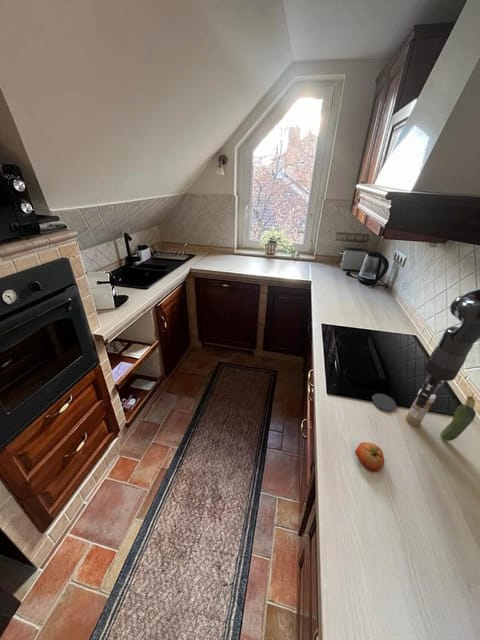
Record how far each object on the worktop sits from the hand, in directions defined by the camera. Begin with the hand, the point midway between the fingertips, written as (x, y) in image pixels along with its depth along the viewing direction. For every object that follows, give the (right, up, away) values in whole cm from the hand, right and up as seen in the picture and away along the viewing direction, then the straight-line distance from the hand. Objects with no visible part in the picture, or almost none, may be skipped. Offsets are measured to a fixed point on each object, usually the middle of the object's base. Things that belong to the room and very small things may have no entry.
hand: (424, 399), depth 83 cm
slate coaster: (-7, -5, +12) cm, 14 cm away
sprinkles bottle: (0, -9, +5) cm, 11 cm away
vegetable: (+6, -13, -1) cm, 15 cm away
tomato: (-22, -16, -7) cm, 28 cm away
